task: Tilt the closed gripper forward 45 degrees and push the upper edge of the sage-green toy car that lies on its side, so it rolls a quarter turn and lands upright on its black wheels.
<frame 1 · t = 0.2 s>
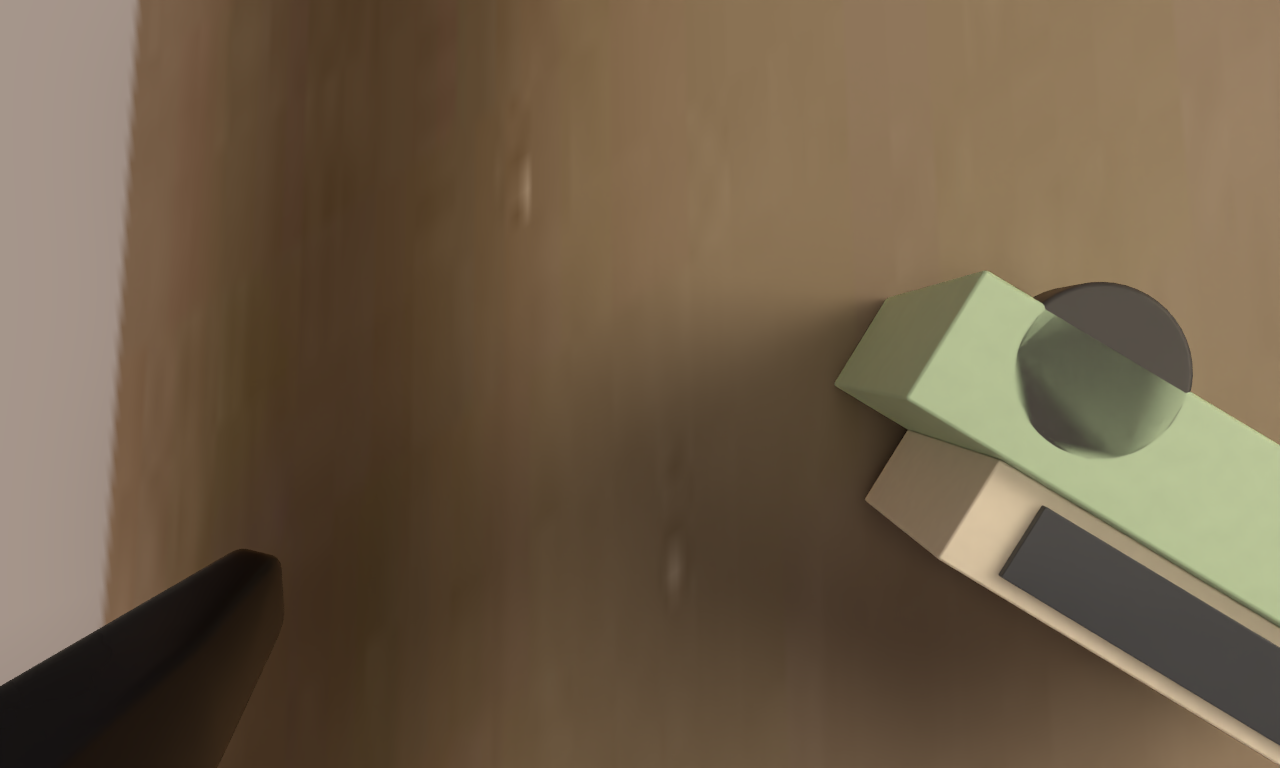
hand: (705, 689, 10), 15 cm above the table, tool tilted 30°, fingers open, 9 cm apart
toy car: (1097, 507, 24), on the table
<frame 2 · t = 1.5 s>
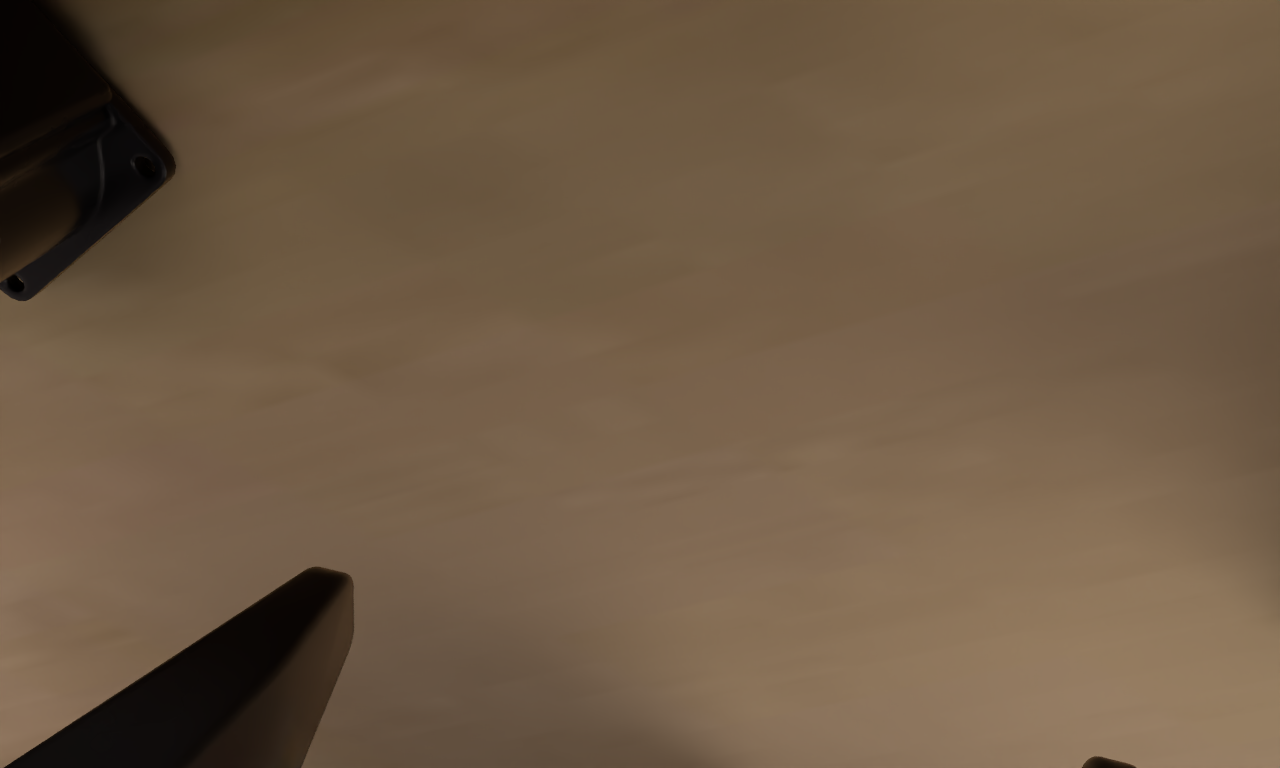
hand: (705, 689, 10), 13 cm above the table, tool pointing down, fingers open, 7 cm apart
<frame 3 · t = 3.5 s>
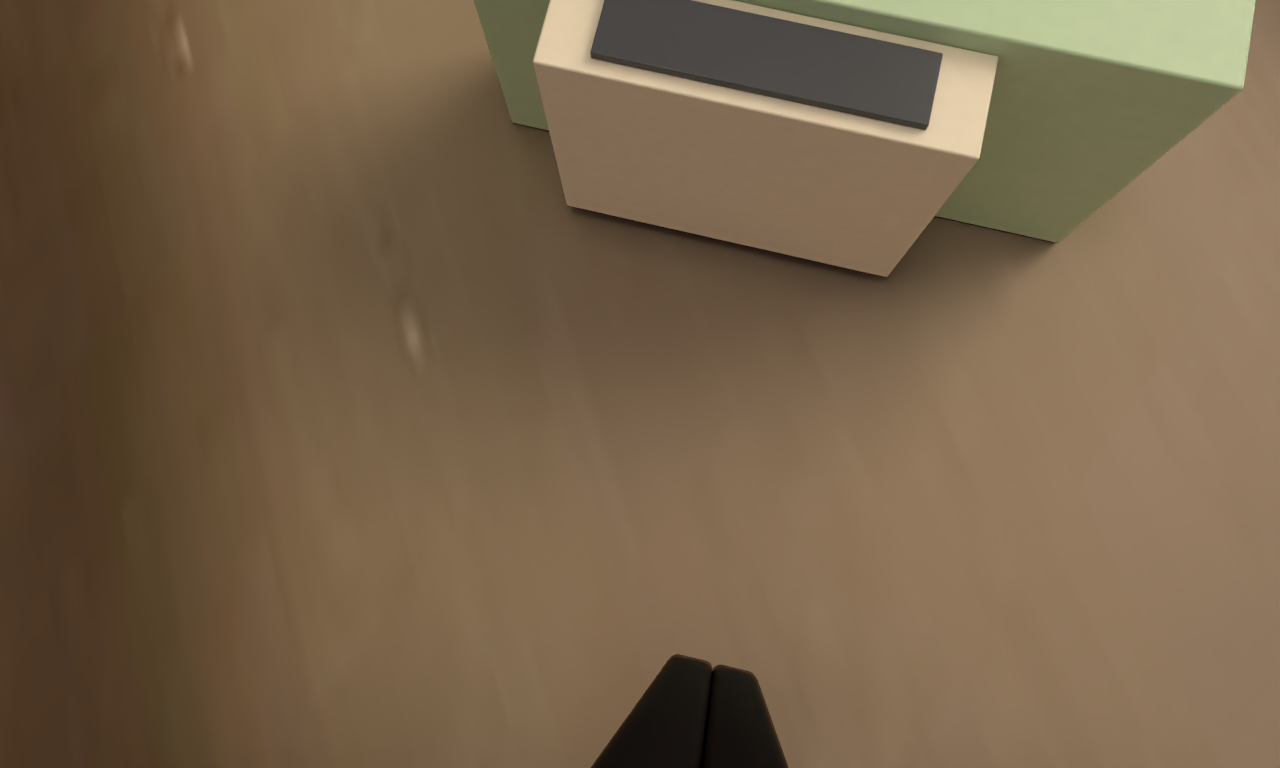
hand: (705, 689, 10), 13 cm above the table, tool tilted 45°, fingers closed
toy car: (786, 155, 25), on the table
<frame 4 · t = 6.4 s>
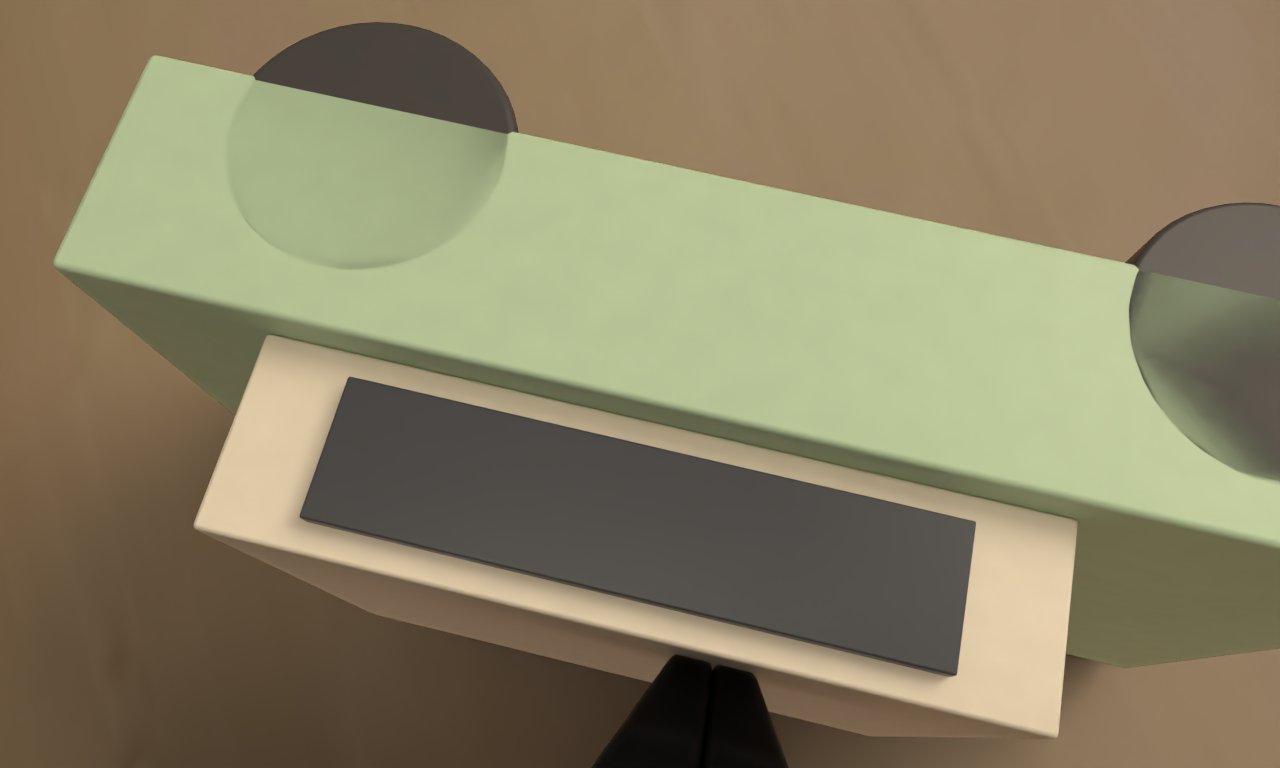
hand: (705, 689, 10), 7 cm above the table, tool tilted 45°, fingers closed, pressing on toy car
toy car: (713, 524, 17), on the table, tilted 7°, touching gripper
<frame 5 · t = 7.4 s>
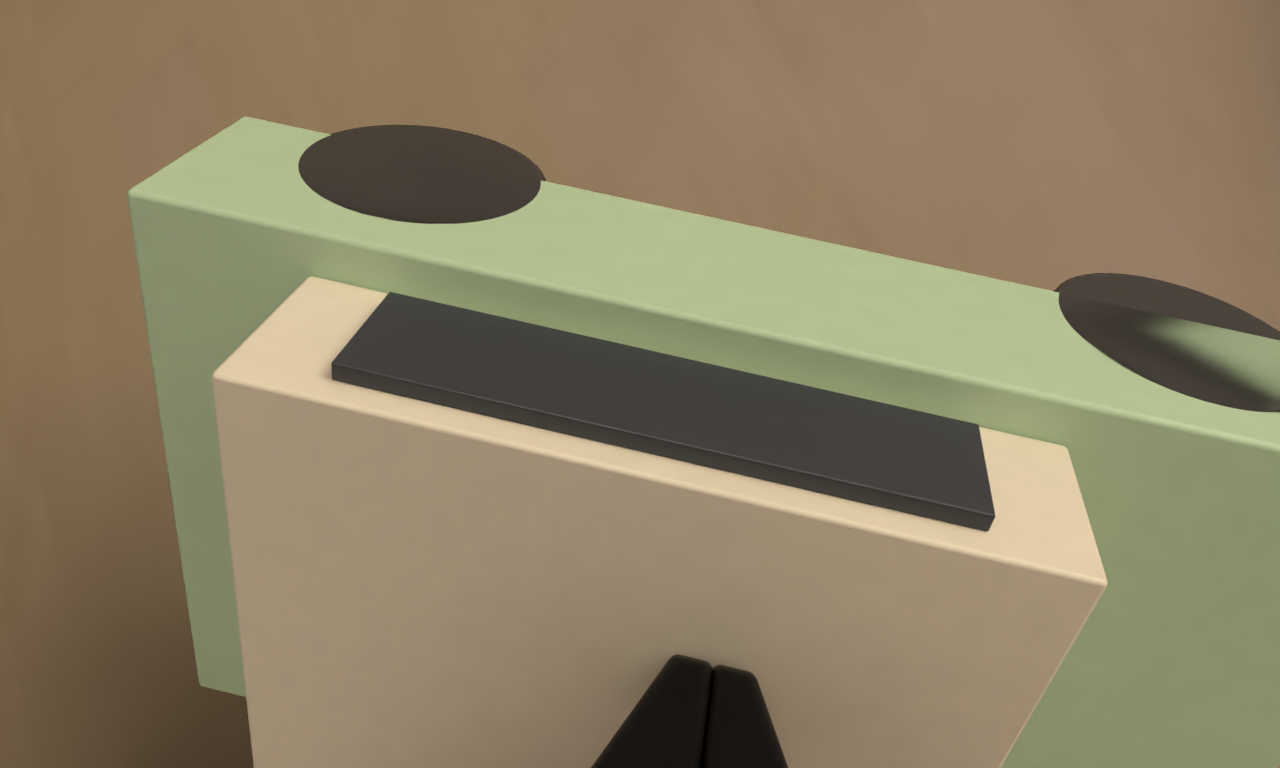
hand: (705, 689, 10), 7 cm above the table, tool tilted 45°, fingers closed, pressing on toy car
toy car: (665, 759, 15), point 2 cm above the table, tilted 43°, touching gripper
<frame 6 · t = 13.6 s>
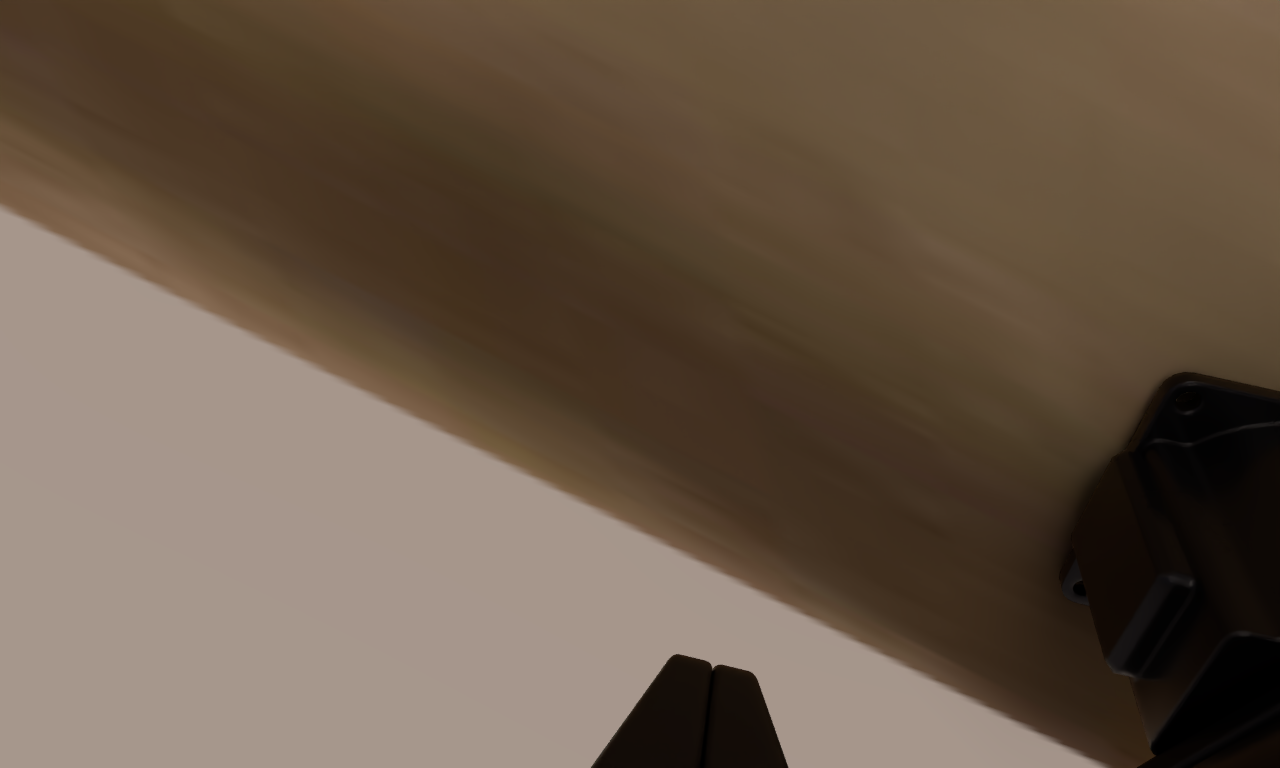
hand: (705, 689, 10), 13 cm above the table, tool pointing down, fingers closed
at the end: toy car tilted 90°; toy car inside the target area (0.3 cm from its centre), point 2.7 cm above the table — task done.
